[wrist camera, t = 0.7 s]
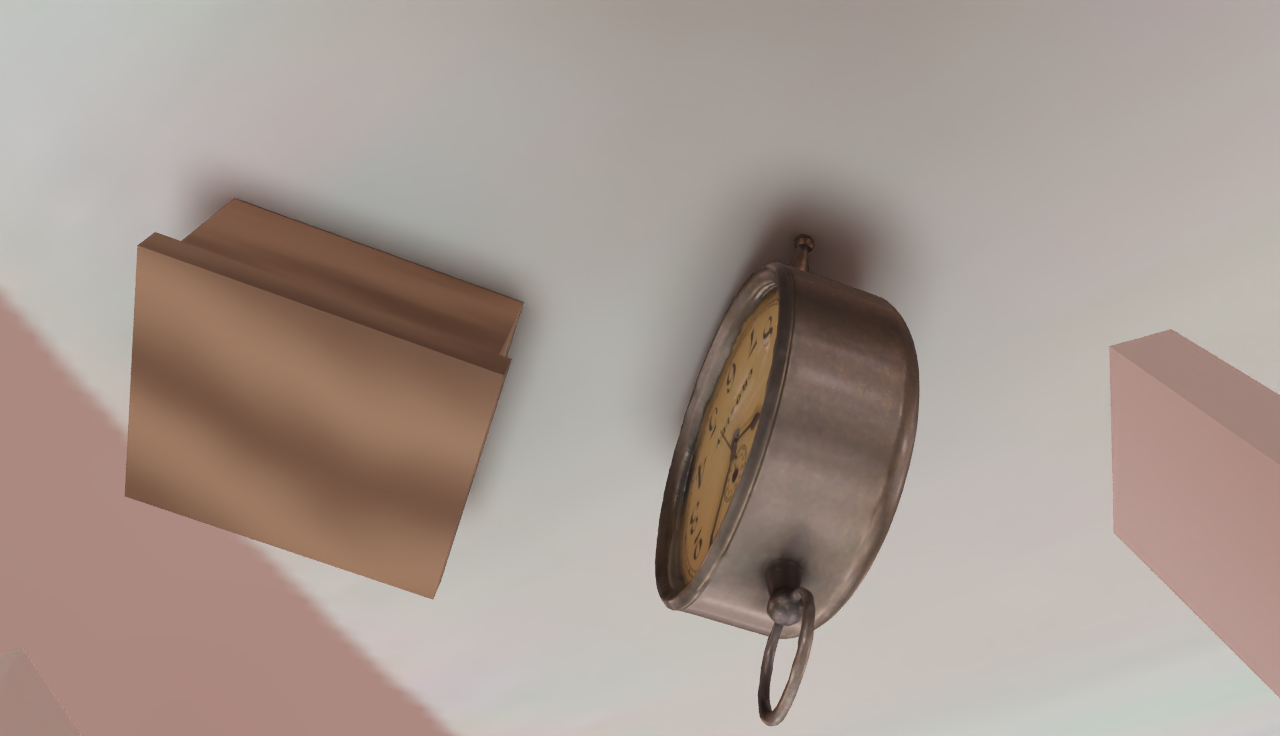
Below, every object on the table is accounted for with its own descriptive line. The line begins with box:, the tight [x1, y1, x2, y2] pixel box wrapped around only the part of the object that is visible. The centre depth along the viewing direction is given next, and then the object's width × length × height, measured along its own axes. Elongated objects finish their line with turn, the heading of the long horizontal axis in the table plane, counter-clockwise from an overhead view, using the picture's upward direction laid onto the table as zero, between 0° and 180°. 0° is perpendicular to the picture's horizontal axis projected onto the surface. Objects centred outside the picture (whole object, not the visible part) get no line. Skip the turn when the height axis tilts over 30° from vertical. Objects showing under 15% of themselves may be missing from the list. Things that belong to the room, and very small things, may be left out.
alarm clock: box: [655, 234, 919, 726], centre depth 29 cm, size 11×5×16 cm, turn 161°
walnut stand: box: [125, 199, 523, 599], centre depth 36 cm, size 11×12×5 cm
